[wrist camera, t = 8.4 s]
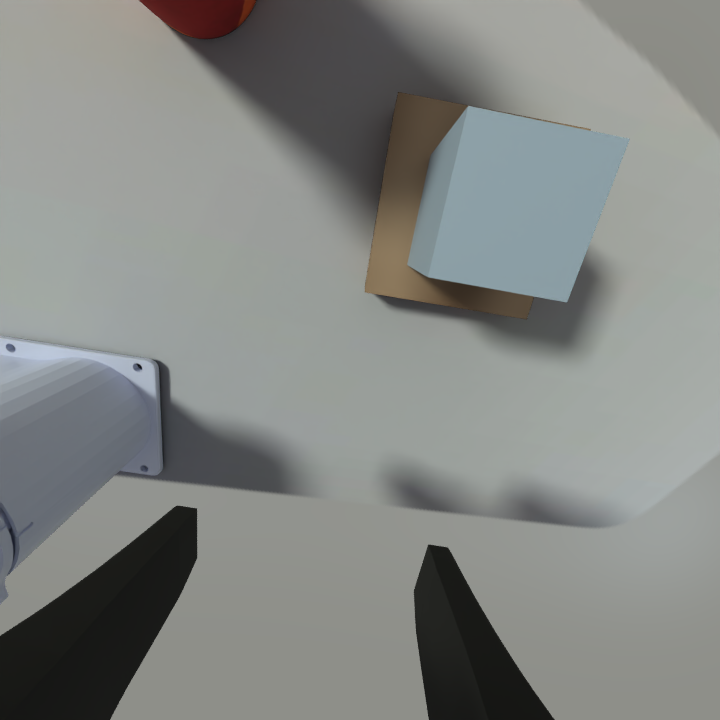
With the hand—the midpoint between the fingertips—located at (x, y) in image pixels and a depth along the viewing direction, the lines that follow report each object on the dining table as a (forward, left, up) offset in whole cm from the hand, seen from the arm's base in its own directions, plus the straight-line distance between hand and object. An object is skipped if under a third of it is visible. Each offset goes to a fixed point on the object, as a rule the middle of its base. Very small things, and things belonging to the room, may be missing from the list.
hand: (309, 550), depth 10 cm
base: (+5, +11, -10) cm, 16 cm away
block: (+5, +11, -8) cm, 14 cm away
